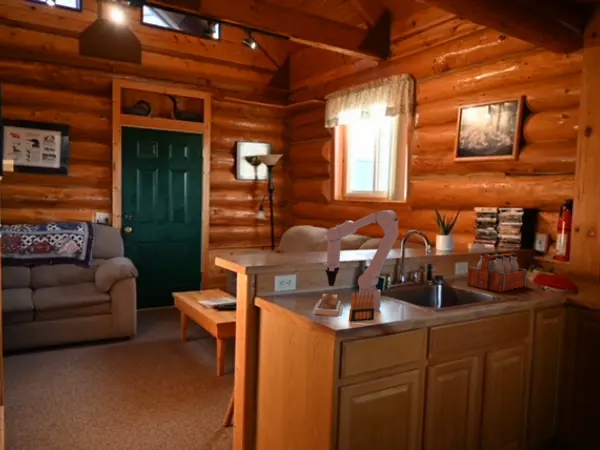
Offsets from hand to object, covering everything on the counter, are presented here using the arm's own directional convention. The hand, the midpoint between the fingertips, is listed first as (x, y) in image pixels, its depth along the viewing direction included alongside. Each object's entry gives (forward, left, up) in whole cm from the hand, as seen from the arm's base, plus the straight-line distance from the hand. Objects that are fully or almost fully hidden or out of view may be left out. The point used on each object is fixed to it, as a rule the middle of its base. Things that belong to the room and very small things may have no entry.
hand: (331, 284), depth 215 cm
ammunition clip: (-14, +26, -9) cm, 31 cm away
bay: (0, +14, -8) cm, 16 cm away
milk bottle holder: (-91, -74, -9) cm, 118 cm away
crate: (0, +10, -8) cm, 13 cm away
